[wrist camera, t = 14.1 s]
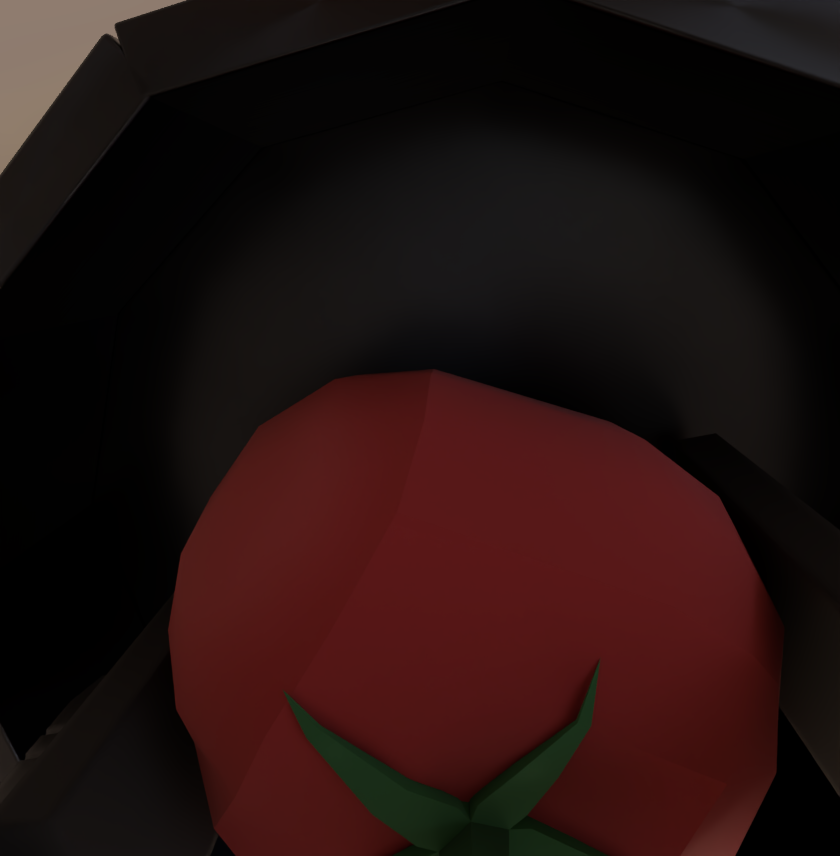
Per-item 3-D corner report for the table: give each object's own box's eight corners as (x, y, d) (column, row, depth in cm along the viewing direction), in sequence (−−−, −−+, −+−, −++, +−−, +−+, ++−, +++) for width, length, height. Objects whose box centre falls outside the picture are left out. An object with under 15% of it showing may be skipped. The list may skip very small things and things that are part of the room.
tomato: (742, 459, 11) (1196, 823, 4) (525, 750, 14) (591, 1280, 7) (354, 256, 10) (150, 299, 4) (198, 601, 13) (-100, 1020, 6)
